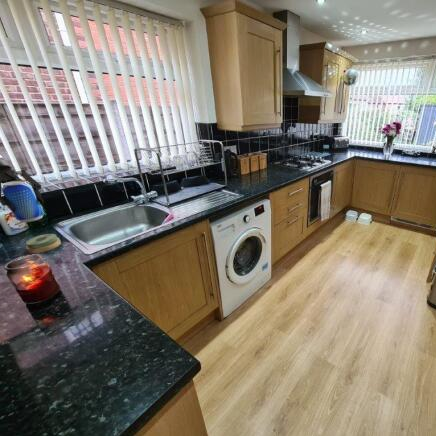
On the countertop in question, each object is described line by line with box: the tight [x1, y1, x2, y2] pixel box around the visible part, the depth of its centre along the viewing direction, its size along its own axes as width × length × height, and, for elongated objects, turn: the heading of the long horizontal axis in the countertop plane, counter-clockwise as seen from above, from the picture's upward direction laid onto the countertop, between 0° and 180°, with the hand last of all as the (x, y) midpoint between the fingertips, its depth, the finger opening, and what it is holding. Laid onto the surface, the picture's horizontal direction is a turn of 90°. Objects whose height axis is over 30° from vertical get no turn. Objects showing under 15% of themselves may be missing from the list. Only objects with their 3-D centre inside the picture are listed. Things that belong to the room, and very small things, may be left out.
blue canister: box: [1, 180, 45, 223], centre depth 101 cm, size 8×8×16 cm
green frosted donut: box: [25, 233, 62, 254], centre depth 108 cm, size 11×11×4 cm
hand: (28, 206), depth 100 cm, fingers closed on blue canister, 8 cm apart
